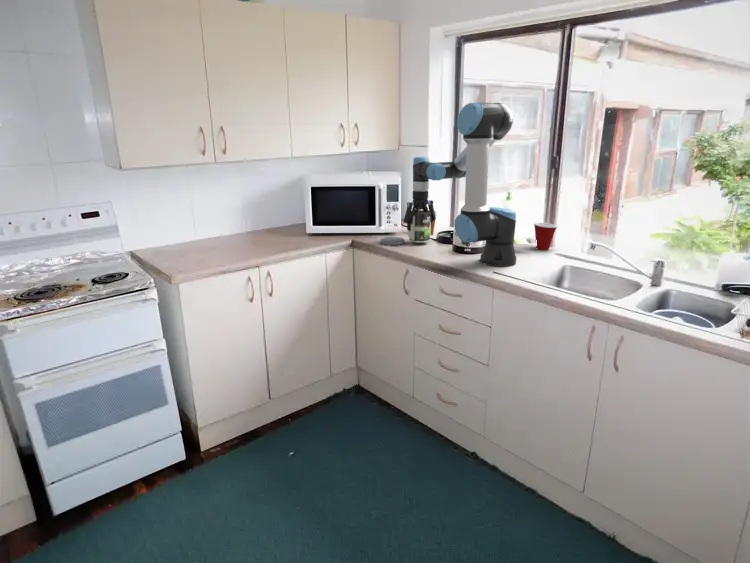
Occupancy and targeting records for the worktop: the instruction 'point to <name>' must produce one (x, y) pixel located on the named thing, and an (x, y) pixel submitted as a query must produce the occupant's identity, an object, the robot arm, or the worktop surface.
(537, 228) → the plastic cup
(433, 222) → the disposable coffee cup
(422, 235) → the coffee can
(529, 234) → the worktop surface
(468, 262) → the worktop surface
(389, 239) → the coaster
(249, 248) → the worktop surface
